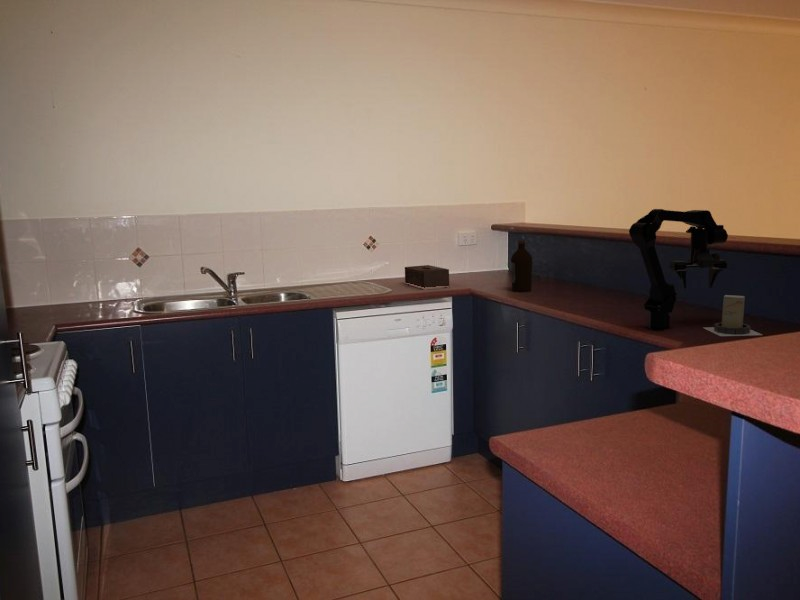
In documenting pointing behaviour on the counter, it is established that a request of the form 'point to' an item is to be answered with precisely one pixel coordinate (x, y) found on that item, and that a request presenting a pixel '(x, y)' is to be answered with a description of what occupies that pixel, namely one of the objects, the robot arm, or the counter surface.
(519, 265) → the olive oil
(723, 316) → the skincare box
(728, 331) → the dark grey ring
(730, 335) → the grey base plate
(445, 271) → the tissue box cover
